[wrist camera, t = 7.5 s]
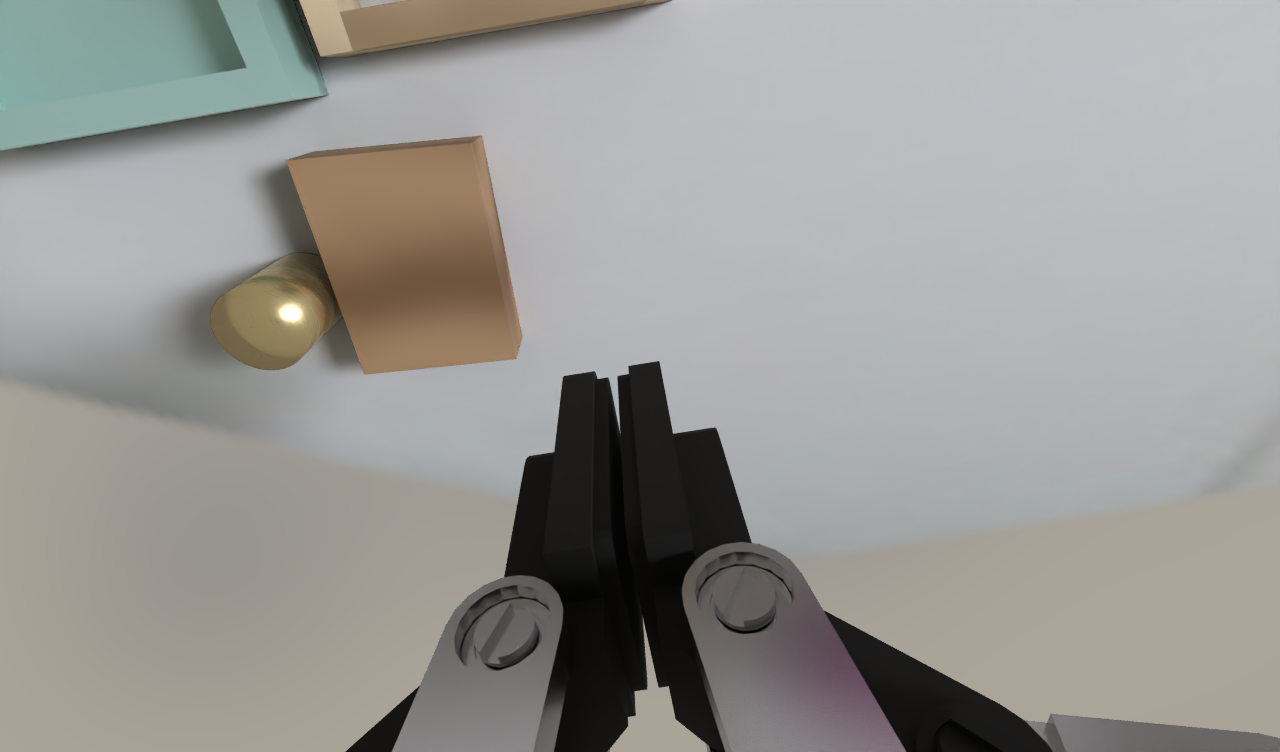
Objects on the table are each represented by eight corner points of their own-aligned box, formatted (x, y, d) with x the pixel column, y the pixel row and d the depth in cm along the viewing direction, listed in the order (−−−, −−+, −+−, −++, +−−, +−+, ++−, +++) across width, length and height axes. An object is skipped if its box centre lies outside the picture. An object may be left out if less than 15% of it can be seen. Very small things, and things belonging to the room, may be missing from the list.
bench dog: (256, 259, 22) (191, 296, 18) (332, 246, 22) (282, 281, 18) (290, 329, 23) (237, 376, 20) (362, 317, 23) (321, 362, 20)
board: (318, 149, 21) (286, 160, 18) (483, 134, 21) (470, 143, 18) (384, 346, 24) (364, 374, 22) (523, 332, 25) (516, 358, 22)
